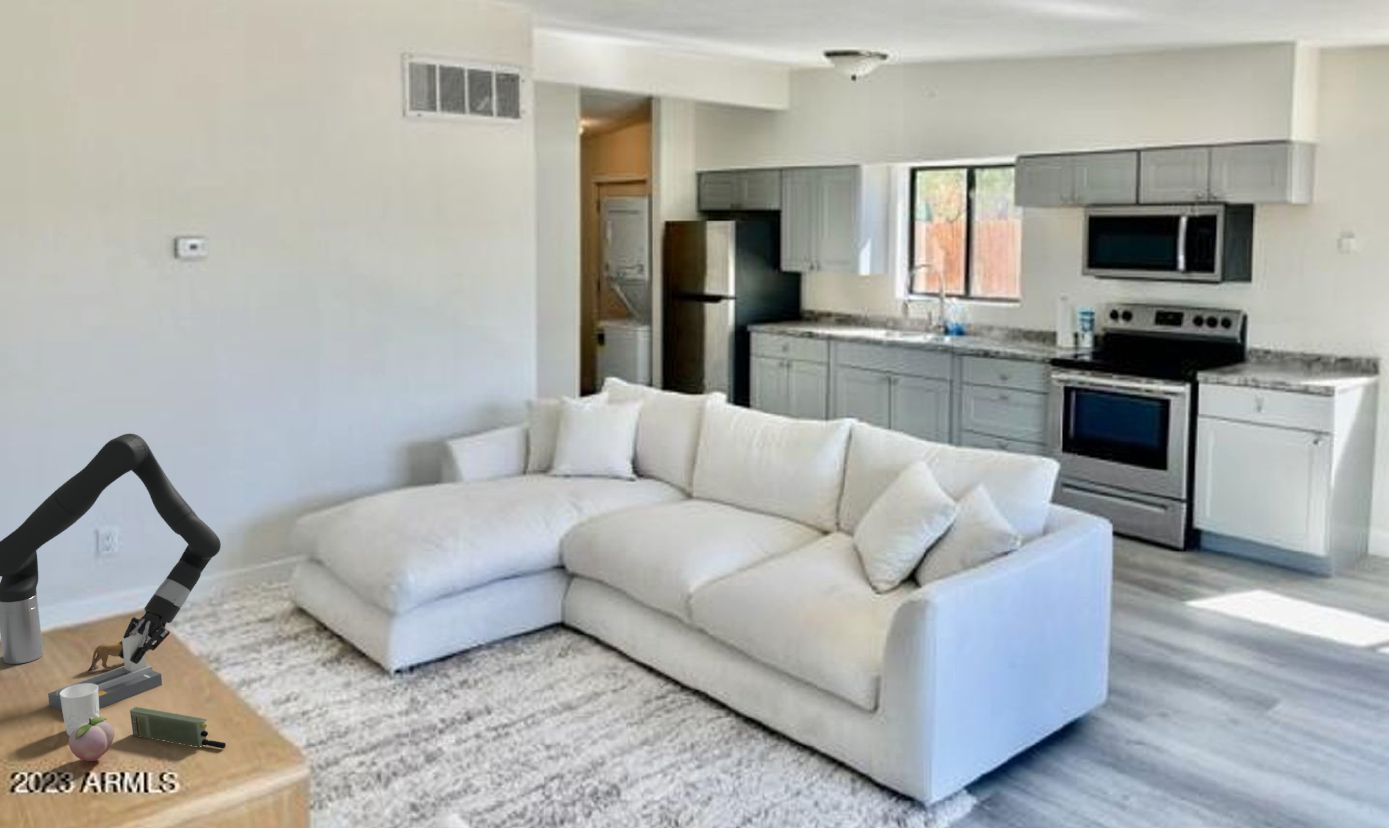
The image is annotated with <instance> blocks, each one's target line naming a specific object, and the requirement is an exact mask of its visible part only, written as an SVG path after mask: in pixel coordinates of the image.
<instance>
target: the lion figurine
mask: <svg viewBox="0 0 1389 828" xmlns="http://www.w3.org/2000/svg"><path fill="white" fill-rule="evenodd" d="M137 633H138V632H137ZM131 634H132V632H130V634H129V636H130V635H131ZM138 634H140V633H138ZM140 635H141V634H140ZM122 648H123V643H122V640H121V641H119V642H115V643H106V642H105V643H101V644H100V645H98V646H97V647H96V648H95V649H94V652H93V654H92V659H91V666H89V668H88V670H87V672H91V671H92V670H93V669H95V670H96V669H99V668H100V667H99V665H97V663H98V662H99V661H101V666H102V667H103V668H104V670H105V671H111V670H112V668H111V667H110V666H108V665H107V663H108V659H109V656H111V657H116V658H117V657H119V653H120V651H121V650H122Z"/></svg>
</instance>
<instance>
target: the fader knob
mask: <svg viewBox="0 0 1389 828" xmlns="http://www.w3.org/2000/svg"><path fill="white" fill-rule="evenodd" d="M121 641H122V643H123V654H124V659H123V662H124V663H123V664H124V665H123V666H125V668H124V672H125V673H127V674H129V673H132V672H135V671H138V670H140V669H143V668H146V667H148V665H147V655H146V653H145V654H144V656H143V657H142V659H141V660H140V661H139V663H138V664H135V663H133V662H132V661H130V658H131V657H132V655H133V654H134V652H135V651H136V649H137V648H138V647H140V643H141V641H142V636H141V635H138V634H136V635H133V636H130V637H127V638H122V640H121Z"/></svg>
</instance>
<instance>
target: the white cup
mask: <svg viewBox="0 0 1389 828" xmlns="http://www.w3.org/2000/svg"><path fill="white" fill-rule="evenodd" d="M60 699H61V706H62V710H61V711H62V716H63V723H64V726H65V732H66V734H67V736H69V737H70V735H71V733H72V732H73V730H74V729H75V728H76V727H77V726H79V725H80V724H82V723H84V722H88V721H89V719H90V718H91V720H92V719H94V718H96V717H100V709H99V691H98V686H97V685H96V684H92V683H83V684H77V685H73V686H70V687H67V688H65V689H63V690H62V691H61V692H60Z"/></svg>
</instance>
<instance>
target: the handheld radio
mask: <svg viewBox="0 0 1389 828" xmlns="http://www.w3.org/2000/svg"><path fill="white" fill-rule="evenodd" d="M129 714H130V721H131V731H132V736H133V737H138V736H140V738H144V737H146V738H145V739H149V738H151V739H150V740H154V739H159V740H158V741H160V740H165V741H169V742H168V743H170V742H173V743H172V744H176V743H181V744H185V745H184V746H186V745H189V746H188V747H192V746H197V747H200V746H203V745H205V746H208V747H213V748H219V749H225V748H226V742H221V741H216V740H211V739H210V740H209V739H207V737H208V735H209V732H208V731H207V729H206V728H207V723H206V722H207V721H208V719H206V718H202V717H197V716H191V715H185V714H180V713H179V714H178V713H173V712H168V711H167V712H166V711H164V710H163V711H162V710H156V709H152V708H151V709H150V708H144V707H139V706H134V707H132V709H130V710H129ZM152 738H153V739H152ZM165 741H164V742H165ZM181 744H180V745H181ZM190 745H192V746H190ZM197 747H196V748H197ZM203 747H204V746H203Z"/></svg>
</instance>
